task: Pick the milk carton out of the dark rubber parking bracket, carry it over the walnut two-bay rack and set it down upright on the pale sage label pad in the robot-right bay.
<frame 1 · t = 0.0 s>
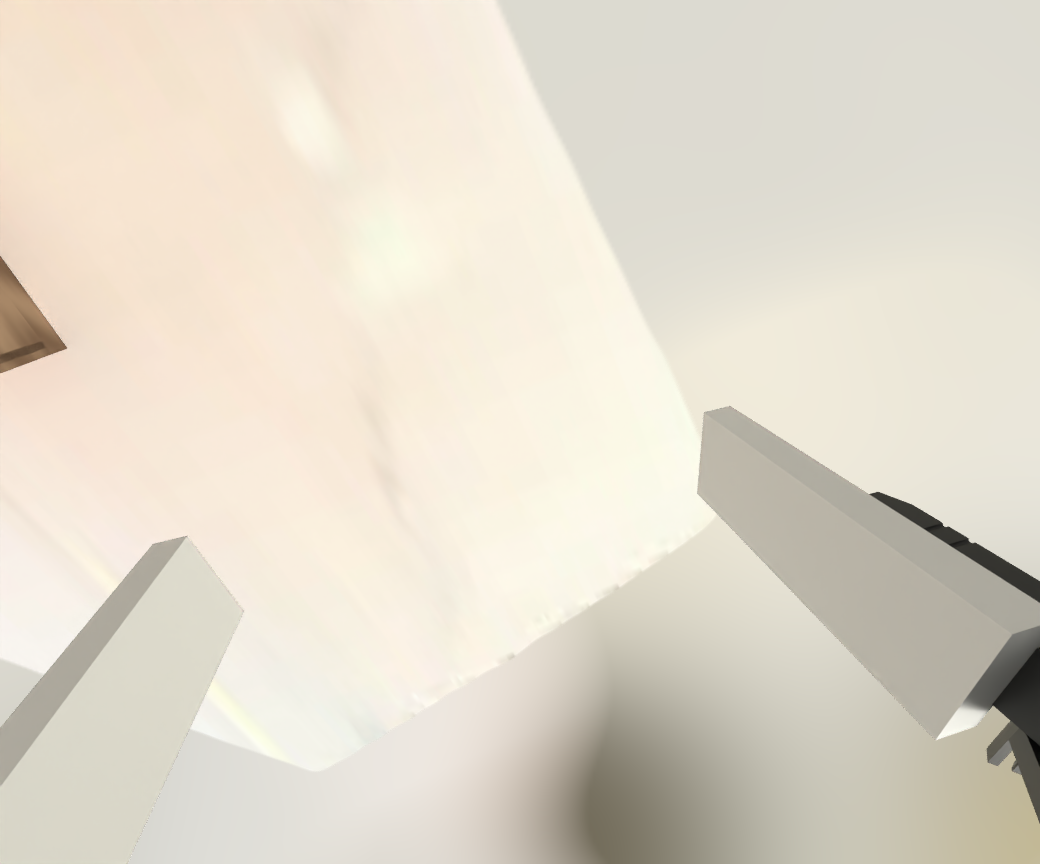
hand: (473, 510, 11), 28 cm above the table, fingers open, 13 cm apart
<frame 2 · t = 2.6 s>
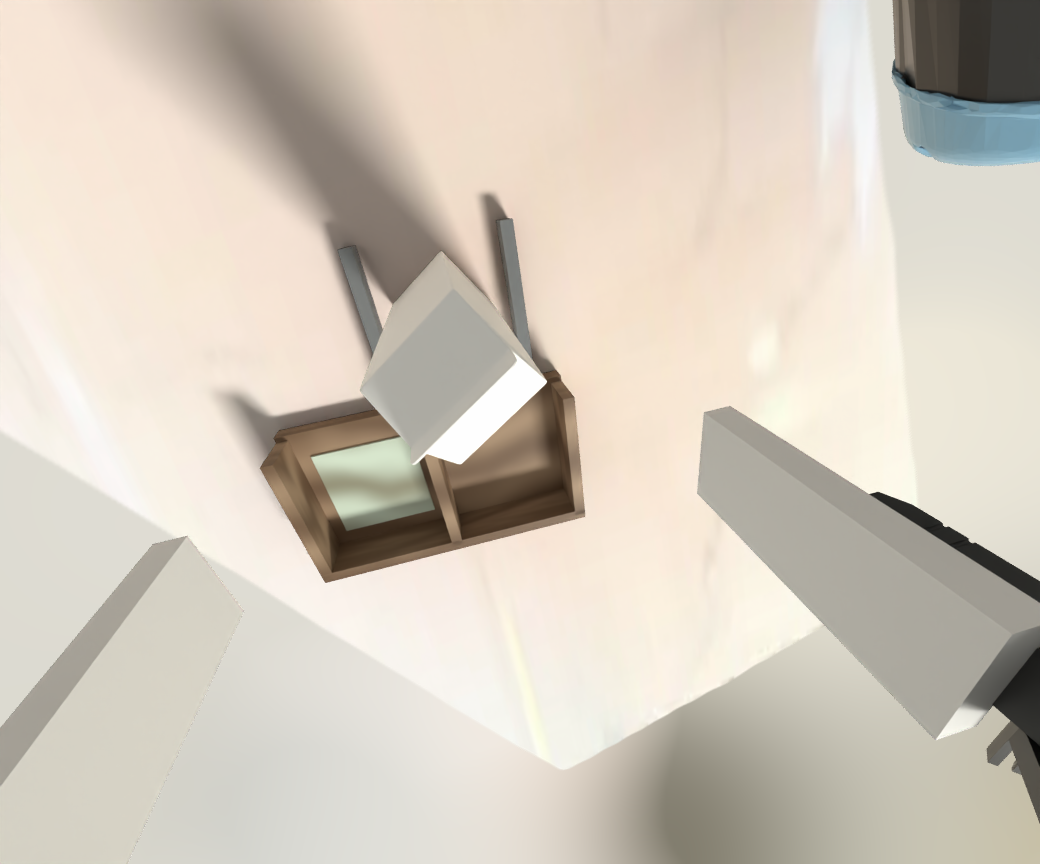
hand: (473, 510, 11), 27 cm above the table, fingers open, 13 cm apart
milk: (443, 303, 35), on the table
rack: (440, 461, 41), on the table
parking bracket: (443, 304, 34), on the table
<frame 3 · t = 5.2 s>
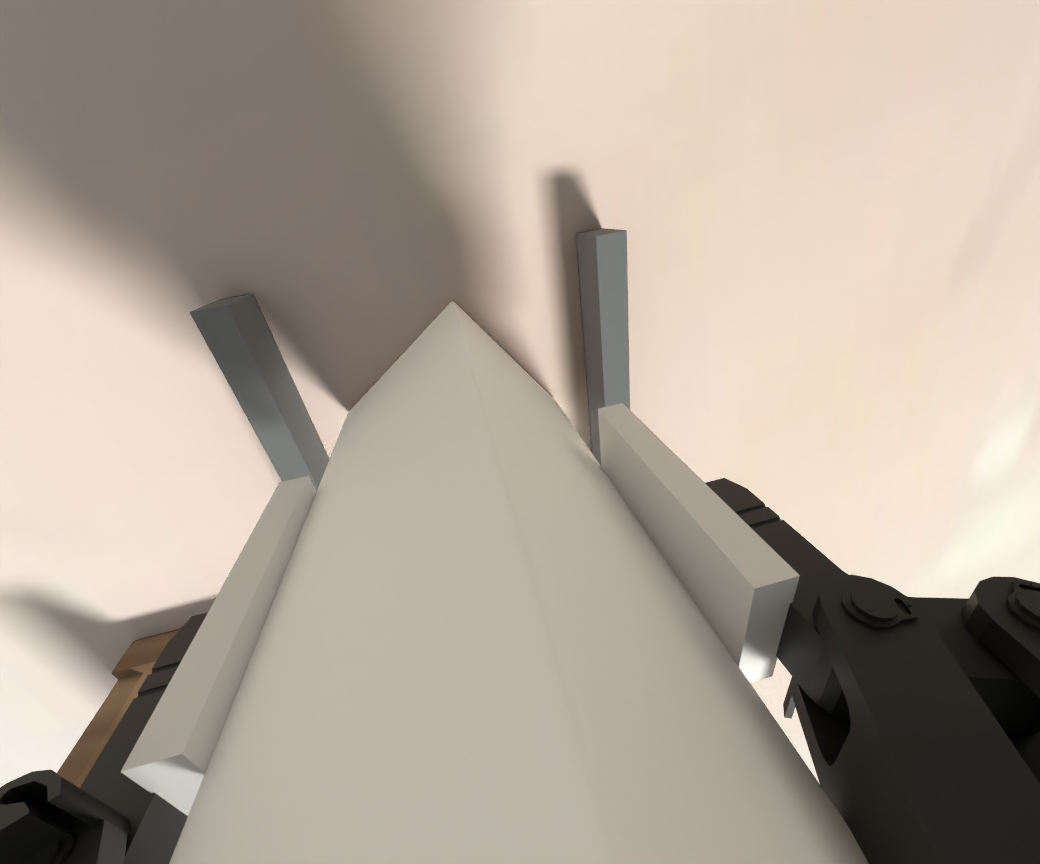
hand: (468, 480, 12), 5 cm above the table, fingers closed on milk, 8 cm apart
milk: (456, 404, 17), on the table, touching gripper
rack: (447, 652, 24), on the table
parking bracket: (457, 406, 17), on the table
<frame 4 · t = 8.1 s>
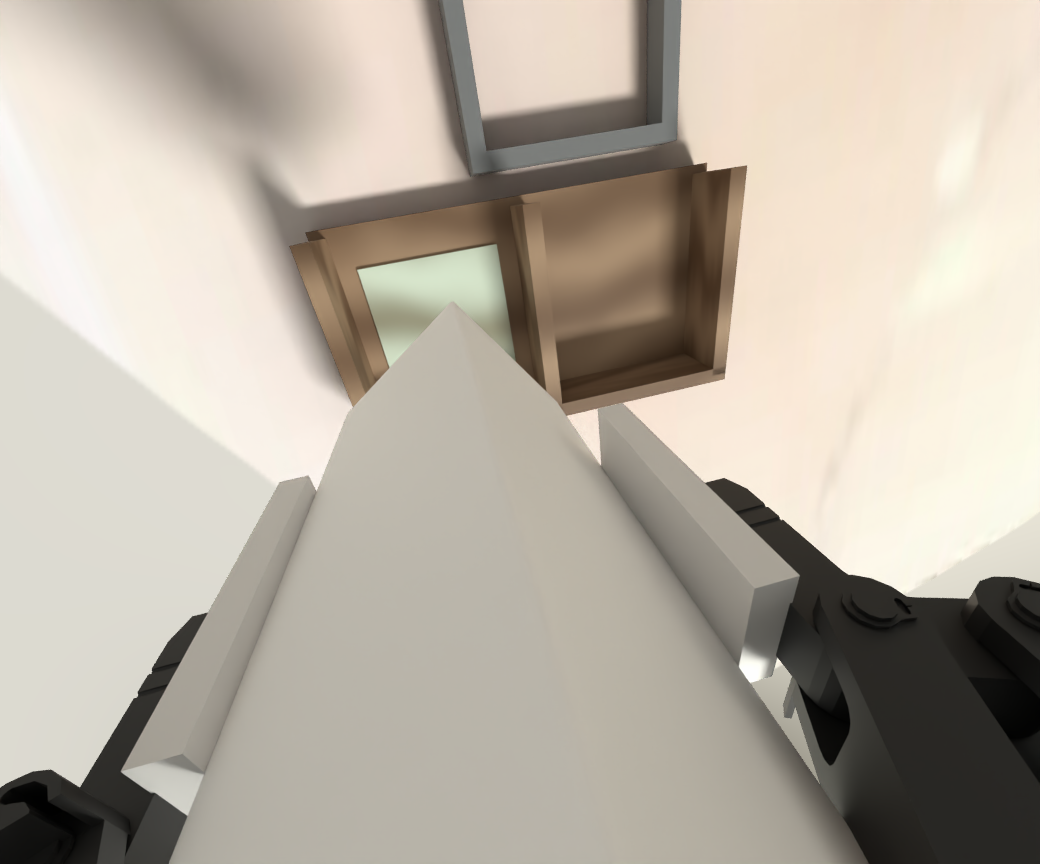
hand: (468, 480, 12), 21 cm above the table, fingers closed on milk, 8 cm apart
milk: (456, 404, 17), point 15 cm above the table, touching gripper
rack: (526, 303, 30), on the table
parking bracket: (557, 26, 23), on the table
when the fingers open (8 cm above the table, at t = 11.1 s): milk drops 1 cm, resting on rack.
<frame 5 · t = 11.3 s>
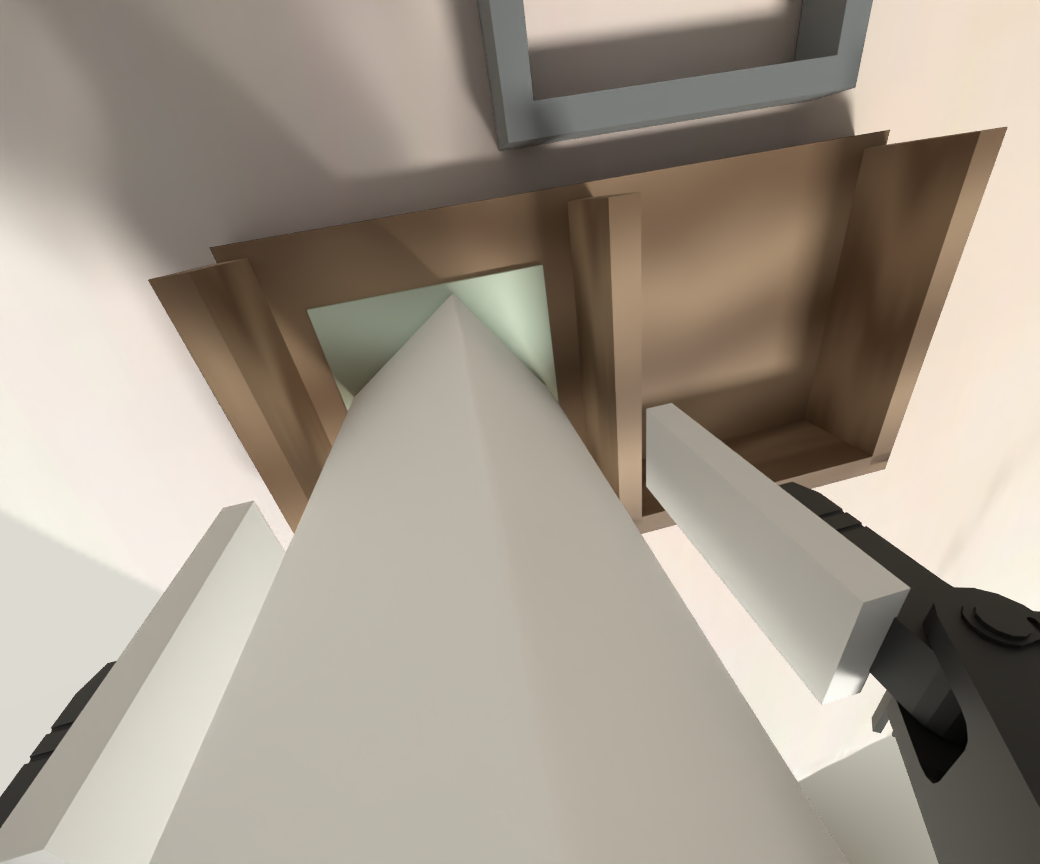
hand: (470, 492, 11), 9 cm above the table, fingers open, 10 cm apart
milk: (456, 391, 18), point 2 cm above the table, touching rack
rack: (580, 353, 20), on the table
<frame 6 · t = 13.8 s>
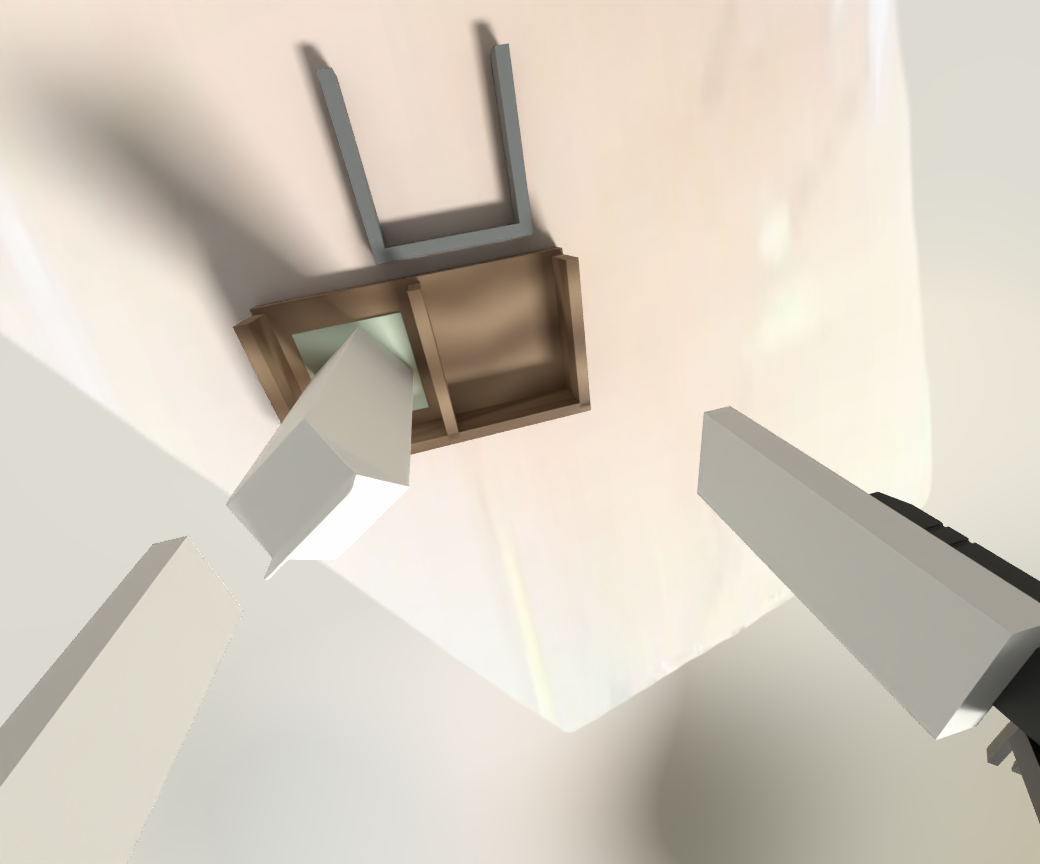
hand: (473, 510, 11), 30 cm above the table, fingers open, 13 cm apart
milk: (366, 372, 36), point 2 cm above the table, touching rack
rack: (434, 353, 38), on the table
parking bracket: (435, 157, 32), on the table
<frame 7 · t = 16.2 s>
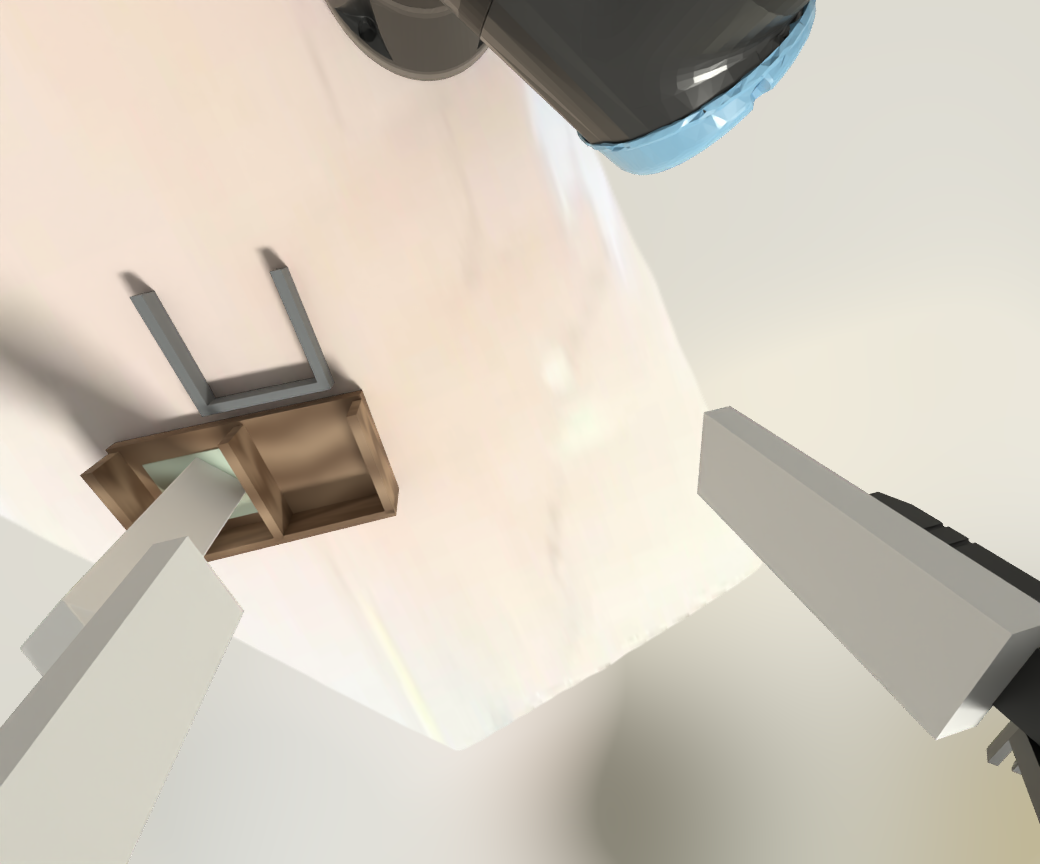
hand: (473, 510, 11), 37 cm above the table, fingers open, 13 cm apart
milk: (209, 487, 46), point 2 cm above the table, touching rack
rack: (270, 467, 48), on the table
parking bracket: (244, 337, 41), on the table
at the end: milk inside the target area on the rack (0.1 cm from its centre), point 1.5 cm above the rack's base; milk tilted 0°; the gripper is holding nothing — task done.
